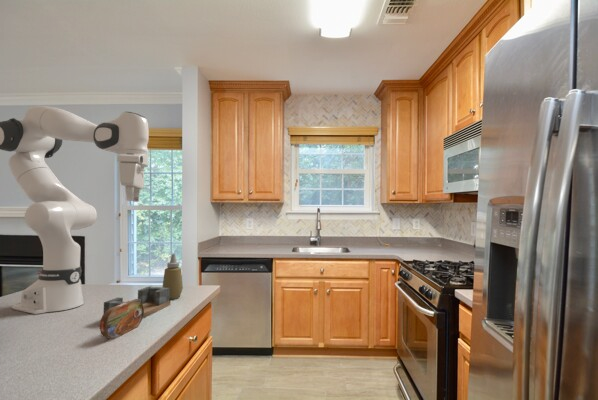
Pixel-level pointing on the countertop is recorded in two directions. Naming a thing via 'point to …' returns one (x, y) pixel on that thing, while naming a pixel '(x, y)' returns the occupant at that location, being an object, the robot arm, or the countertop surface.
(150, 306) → the stand
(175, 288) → the squeeze bottle
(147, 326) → the countertop surface
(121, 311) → the tin
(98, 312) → the countertop surface
